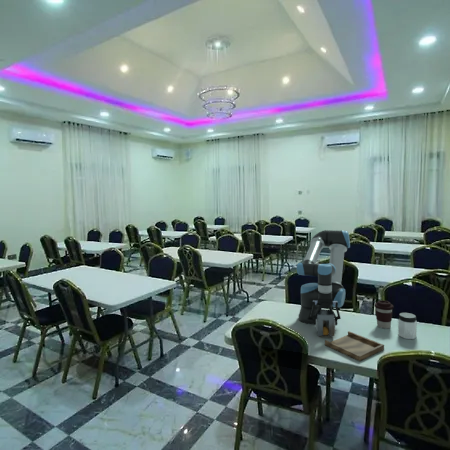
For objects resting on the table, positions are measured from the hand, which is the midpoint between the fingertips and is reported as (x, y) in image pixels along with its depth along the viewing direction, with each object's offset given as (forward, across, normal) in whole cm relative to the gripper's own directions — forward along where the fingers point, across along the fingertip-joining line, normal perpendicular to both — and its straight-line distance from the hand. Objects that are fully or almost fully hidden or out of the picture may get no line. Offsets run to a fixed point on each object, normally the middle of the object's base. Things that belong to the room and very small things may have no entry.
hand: (325, 330), depth 183 cm
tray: (+3, +13, -13) cm, 19 cm away
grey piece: (+1, 0, 0) cm, 1 cm away
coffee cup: (+3, +35, +17) cm, 39 cm away
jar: (+3, +44, +5) cm, 44 cm away
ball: (+1, 0, 0) cm, 1 cm away
